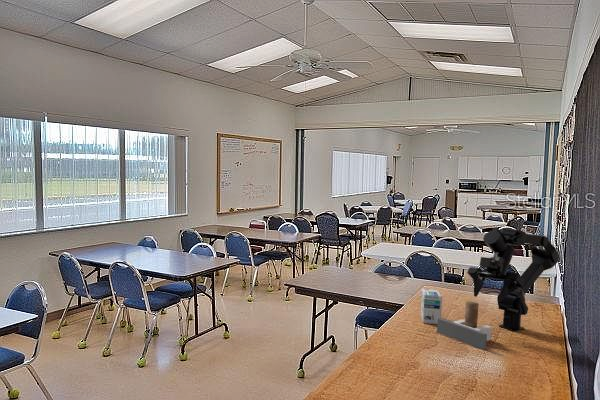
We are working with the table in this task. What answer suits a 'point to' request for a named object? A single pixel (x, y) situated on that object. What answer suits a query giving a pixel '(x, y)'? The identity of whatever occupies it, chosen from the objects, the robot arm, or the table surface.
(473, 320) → the dowel
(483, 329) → the socket block
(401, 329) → the table surface
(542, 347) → the table surface
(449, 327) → the backstop wall
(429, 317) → the light bulb box
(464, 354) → the table surface
